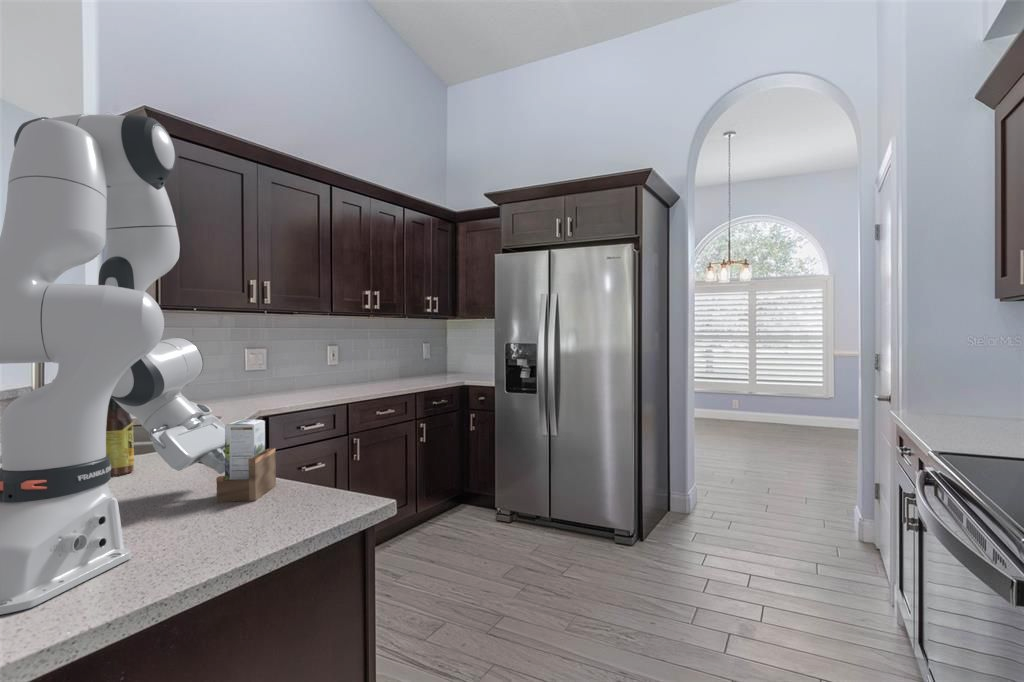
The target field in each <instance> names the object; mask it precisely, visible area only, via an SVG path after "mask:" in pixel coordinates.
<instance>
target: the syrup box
mask: <svg viewBox="0 0 1024 682" xmlns="http://www.w3.org/2000/svg"><path fill="white" fill-rule="evenodd" d="M224 425H225V450H224V454H225V472H224V476H226V480H232V479H249V464H248V459H250V458H252V457H254V456H256V455H257V454H259V453H261V452H263V451H265V450H266V420H263V419H239V420H236V421H233V422H230V423H228V424H224Z"/></svg>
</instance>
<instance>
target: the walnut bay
mask: <svg viewBox="0 0 1024 682" xmlns="http://www.w3.org/2000/svg"><path fill="white" fill-rule="evenodd" d="M248 464H249V479H232V480H226V476H225V475H220V476H217V477H216V502H217V503H228V502H229V503H233V502H234V501H236V502H257V501H258V500H259V499H260V498H262V497H263V496H264V495H266V494H267V493H268V492H270V491H271V490H272V489H274V488H275V487H276V486H277V479H276V478H277V474H276V473H277V471H276V470H277V469H276V467H277V466H276V447H269V448H267V449H265V451H263V452H261V453H259V454H257V455H256V456H254V457H252V458H250V459H248Z"/></svg>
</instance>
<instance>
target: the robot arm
mask: <svg viewBox="0 0 1024 682" xmlns="http://www.w3.org/2000/svg"><path fill="white" fill-rule="evenodd" d="M13 146H14V150H13V153H12V158H11V162H10V168H9V172H8V181H7V192H6V193H7V194H6V203H5V204H6V205H5V211H4V219H3V222H2V223H3V224H2V229H1V233H0V364H1V365H3V364H34V363H35V364H36V363H37V364H38V363H39V364H41V363H54V364H58V370H57V373H56V376H55V378H54V379H53V380H52V381H51V382H49V383H48V384H45V385H43V386H39V387H38V388H36V389H33V390H31V391H29V392H27V393H25V394H23V395H21V396H19V397H17V398H15V399H14V400H12V401H11V402H10V403H9V404H8V405H7V406H6V408H5V409H4V410H3V412H2V414H1V417H0V441H1V442H0V443H1V444H0V445H1V446H0V448H1V450H0V451H1V467H0V615H5V614H10V613H16V612H19V611H23V610H28V609H31V608H34V607H36V606H38V605H40V604H42V603H44V602H45V601H48V600H49V599H52V598H54V597H56V596H58V595H60V594H62V593H63V592H66V591H68V590H70V589H72V588H74V587H76V586H79V585H80V584H82V583H83V582H87V581H88V580H89V579H92V578H94V577H96V576H98V575H100V574H102V573H104V572H106V571H108V570H110V569H112V568H114V567H117V566H118V565H120V564H122V563H124V562H126V561H128V560H130V559H131V558H132V557H133V555H132V550H131V549H130V548H128V547H125V546H124V539H123V531H122V524H121V523H122V522H121V516H120V507H119V502H118V500H117V498H116V497H115V496H114V495H113V492H111V489H110V488H109V484H108V482H109V481H110V480H111V478H112V476H111V472H110V470H111V464H110V457H109V456H108V455H106V425H107V413H108V405H109V401H110V398H112V399H114V400H115V401H116V402H117V403H118V404H119V405H120V406H121V407H122V408H123V409H124V410H125V411H126V412H127V413H129V414H130V416H131V415H132V416H133V417H135V418H136V419H137V421H138V422H139V424H140V425H141V426H142V428H143V429H144V430H146V432H148V435H149V439H150V441H151V442H152V447H153V449H154V450H155V451H156V453H157V454H158V455H159V456H160V457H161V458H162V459H163V461H164V462H165V463H166V464H167V465H168V466H169V467H170V468H172V469H174V470H175V471H177V472H179V471H180V472H181V471H183V470H184V469H186V468H189V467H190V466H193V465H194V464H197V463H199V462H201V463H202V465H204V466H206V467H208V468H210V469H213V470H214V471H215V472H217V474H219V475H222V474H225V425H226V424H224V423H223V422H222V420H220V418H218V417H217V416H215V415H214V414H212V413H213V410H212V409H211V407H209V406H208V405H205V404H200V403H196V402H194V401H191V400H189V399H187V397H185V396H184V395H183V394H182V392H181V391H182V390H183V388H184V387H187V386H188V385H189V384H191V383H192V382H193V381H194V380H196V379H197V378H198V377H199V376H200V375H201V373H202V372H203V368H204V358H203V354H202V352H201V351H200V349H199V347H198V346H196V344H195V343H193V341H191V340H189V339H187V338H183V337H172V338H167V339H163V340H161V339H162V337H163V333H164V332H165V331H164V330H165V318H164V313H163V311H162V309H161V307H160V305H159V303H158V302H157V301H156V299H154V298H153V296H151V295H150V294H149V293H148V292H146V291H147V289H148V288H149V287H150V286H152V284H153V283H154V282H156V281H157V280H159V279H160V278H161V277H163V276H165V275H166V274H167V273H168V272H170V271H171V270H172V269H173V268H174V266H175V265H176V263H178V260H179V258H180V250H181V249H180V248H181V246H180V245H181V244H180V237H179V232H178V227H177V223H176V218H175V214H174V211H173V207H172V204H171V200H170V197H169V194H168V192H167V189H166V187H165V184H166V182H167V180H168V179H170V178H171V175H172V174H173V172H174V170H175V167H176V164H177V162H176V159H177V158H176V156H177V155H176V151H175V146H174V142H173V140H172V137H171V136H170V134H169V132H168V131H167V129H166V128H165V126H163V124H161V123H160V122H159V121H157V120H156V119H155V118H153V117H149V116H145V115H139V114H131V113H130V114H127V115H119V114H118V115H117V114H116V115H115V114H89V113H83V114H81V113H80V114H69V115H68V114H67V115H61V116H56V117H46V116H45V117H44V116H43V117H38V118H34V119H31V120H28V121H25V122H22V124H20V126H18V129H17V130H16V132H15V135H14V138H13ZM105 246H106V257H105V259H104V262H103V263H102V264H101V265H100V269H99V272H98V279H97V280H98V283H97V284H74V283H73V284H69V283H55V282H56V281H57V279H58V278H59V277H61V275H63V273H65V272H67V271H69V270H71V269H73V268H76V267H78V266H79V267H80V266H82V265H84V264H87V263H90V262H91V261H92V260H95V258H96V257H98V256H99V255H100V254H101V253H102V252H103V250H104V248H105Z"/></svg>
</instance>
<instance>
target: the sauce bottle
mask: <svg viewBox="0 0 1024 682" xmlns="http://www.w3.org/2000/svg"><path fill="white" fill-rule="evenodd" d="M134 441H135V440H134V421H133V419H132V416H131V414H129V413H127V412H126V411H125V410H124V409H123V408H122V407H121V406H120V405H119V404H118V403H117V402H116V401H115V400H114V399H112V398H110V401H109V405H108V413H107V425H106V455H108V456H109V457H110V464H111V470H110V472H111V477H114V476H121V475H127V474H129V473H132V472H133V471H134V469H135V468H134V466H135V449H134V448H135V442H134Z"/></svg>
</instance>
